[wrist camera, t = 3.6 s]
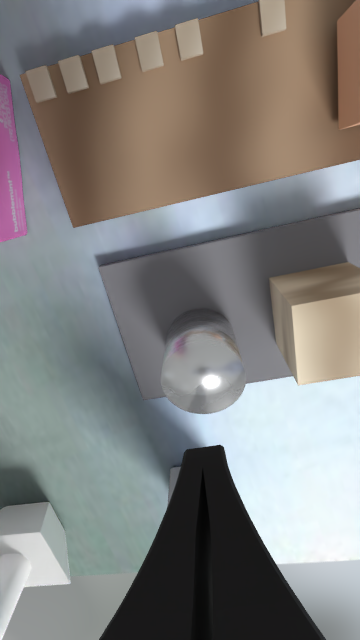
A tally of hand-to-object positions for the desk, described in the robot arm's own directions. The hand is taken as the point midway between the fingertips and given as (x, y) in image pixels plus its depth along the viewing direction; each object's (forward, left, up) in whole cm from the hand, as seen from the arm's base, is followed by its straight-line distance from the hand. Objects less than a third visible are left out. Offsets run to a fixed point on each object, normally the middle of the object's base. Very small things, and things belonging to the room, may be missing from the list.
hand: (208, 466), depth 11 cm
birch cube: (-7, -1, -10) cm, 12 cm away
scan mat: (-3, -1, -10) cm, 11 cm away
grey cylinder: (0, 0, -10) cm, 10 cm away
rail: (-4, -12, -10) cm, 16 cm away
